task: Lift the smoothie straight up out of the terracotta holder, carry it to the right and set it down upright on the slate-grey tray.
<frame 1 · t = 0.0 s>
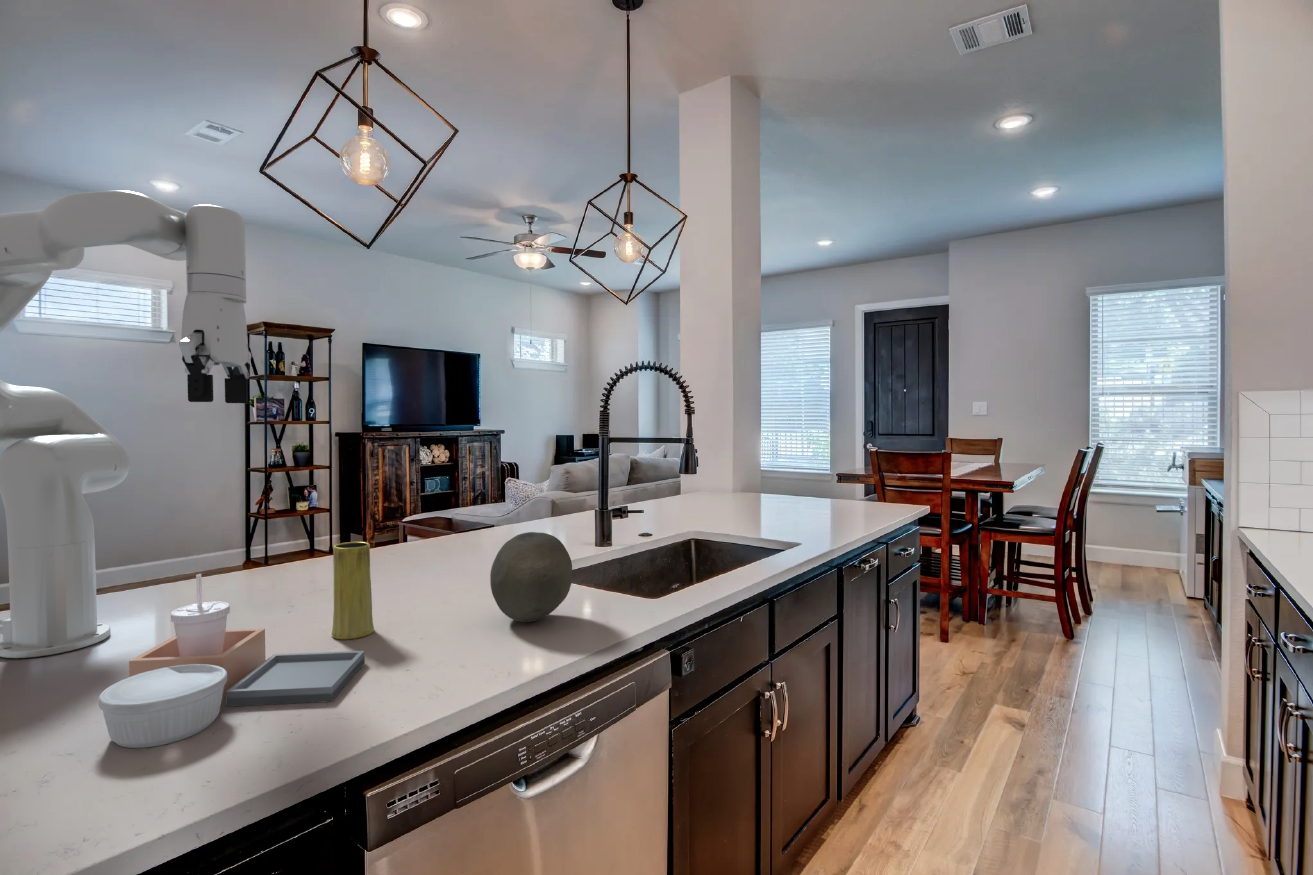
hand: (219, 402, 98), 37 cm above the worktop, tool pointing down, fingers open, 9 cm apart
smoothie: (202, 682, 83), resting in holder
tray: (301, 683, 83), on the worktop
dark grey ball: (532, 622, 108), on the worktop
ramekin: (167, 730, 71), on the worktop
holder: (202, 681, 83), on the worktop
vase: (352, 634, 102), on the worktop
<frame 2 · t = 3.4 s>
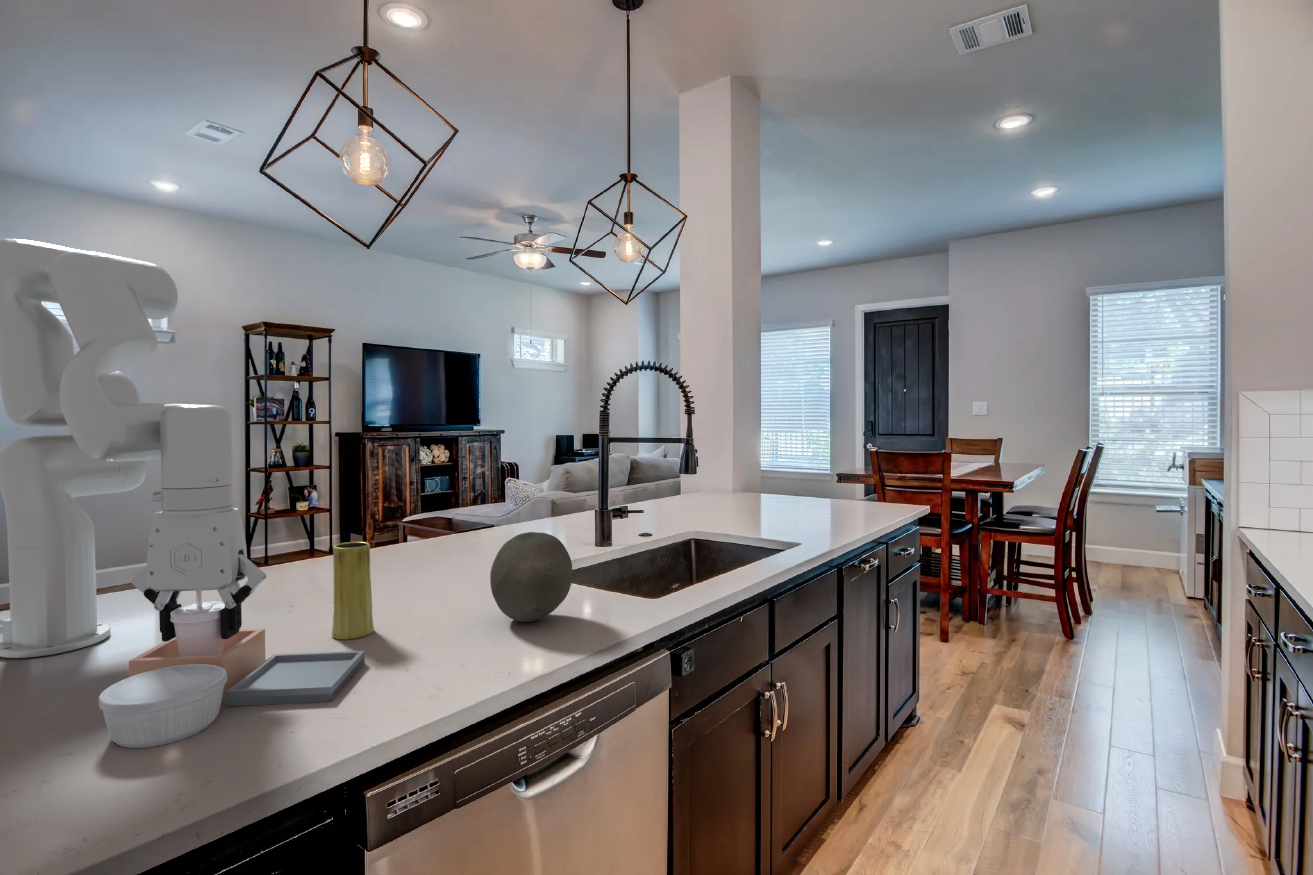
hand: (201, 635, 83), 6 cm above the worktop, tool pointing down, fingers closed on smoothie, 6 cm apart
smoothie: (202, 682, 83), resting in holder, touching gripper
everything else where it was.
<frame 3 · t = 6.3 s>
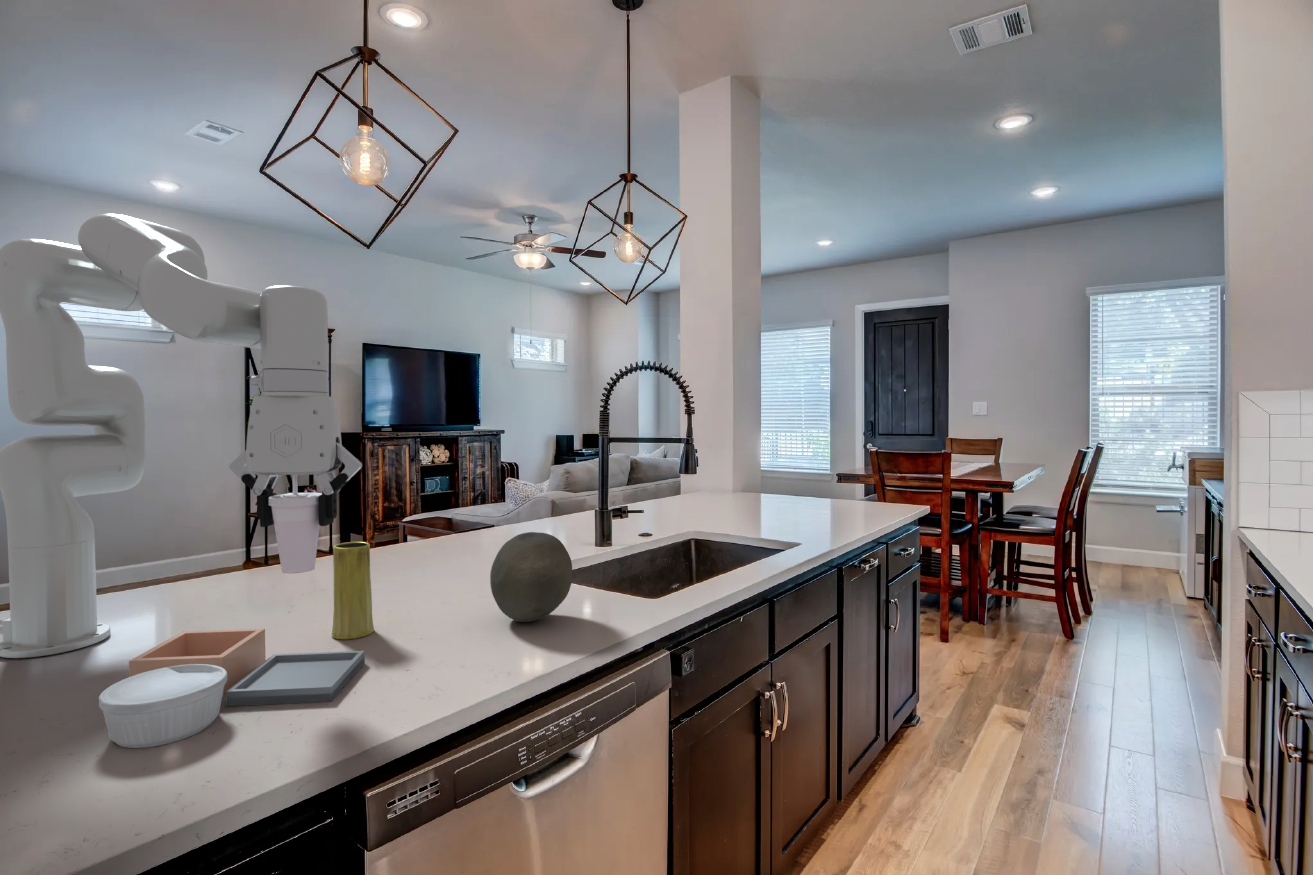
hand: (297, 523, 82), 21 cm above the worktop, tool pointing down, fingers closed on smoothie, 6 cm apart
smoothie: (298, 571, 82), point 15 cm above the worktop, touching gripper
everything else where it was.
when the fingers open (8 cm above the worktop, at t = 9.0 s): smoothie stays where it is, resting on tray.
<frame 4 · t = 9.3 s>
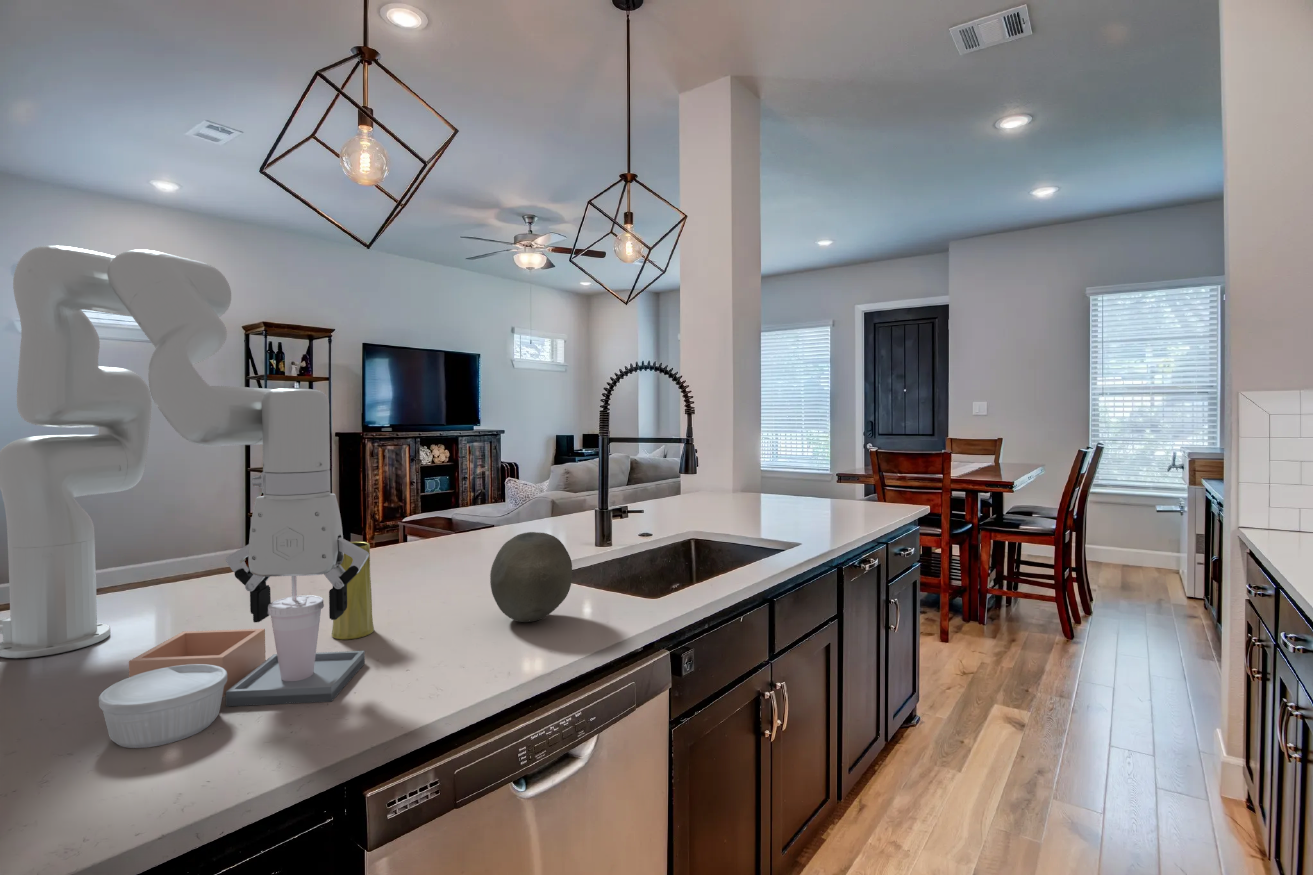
hand: (299, 617, 83), 9 cm above the worktop, tool pointing down, fingers open, 8 cm apart
smoothie: (297, 676, 83), point 1 cm above the worktop, touching tray
everything else where it was.
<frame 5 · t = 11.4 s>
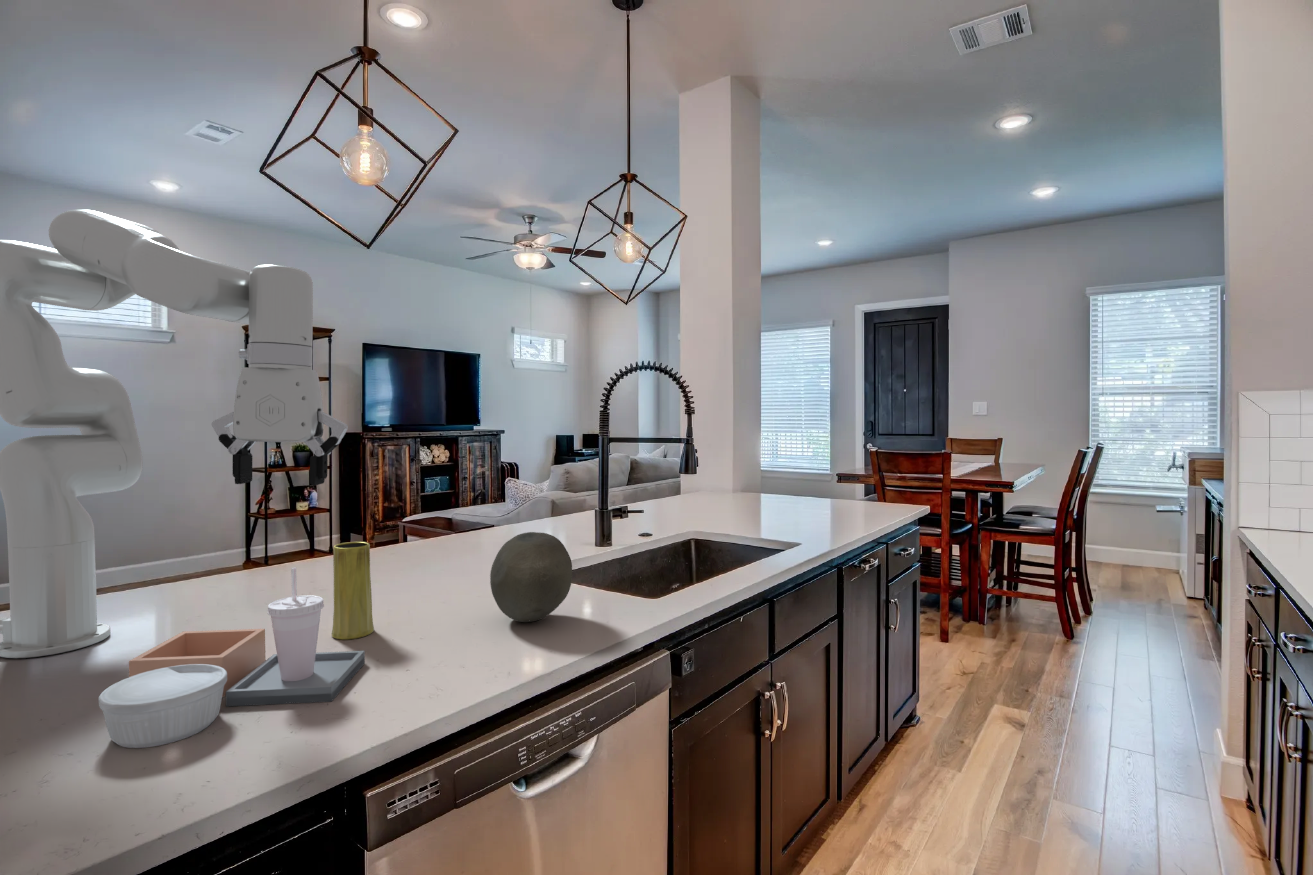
hand: (280, 483, 88), 25 cm above the worktop, tool pointing down, fingers open, 9 cm apart
nothing on the worktop moved.
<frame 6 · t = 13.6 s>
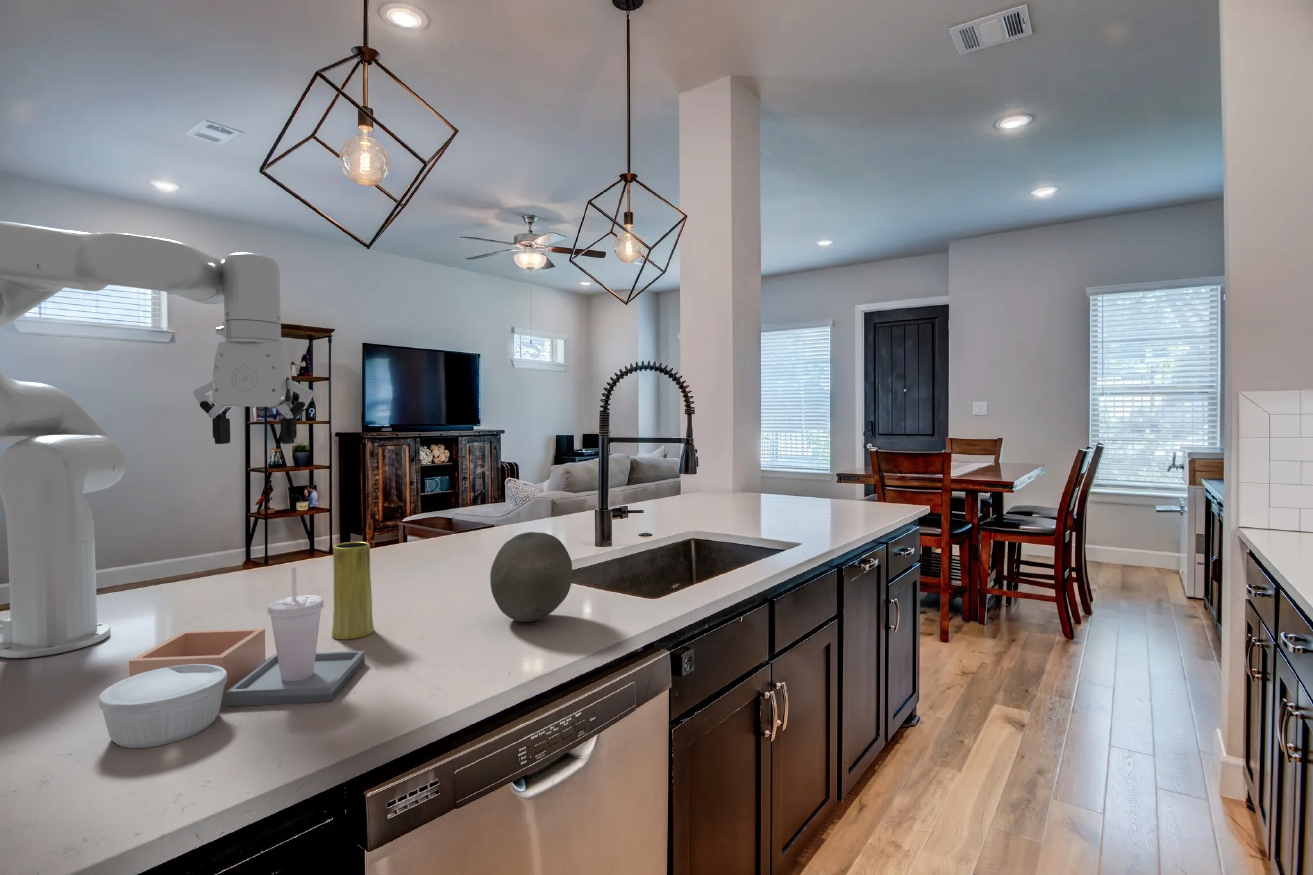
hand: (255, 443, 101), 30 cm above the worktop, tool pointing down, fingers open, 9 cm apart
nothing on the worktop moved.
at the end: smoothie inside the target area on the tray (0.4 cm from its centre), point 0.8 cm above the tray's base; smoothie tilted 0°; the gripper is holding nothing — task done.
